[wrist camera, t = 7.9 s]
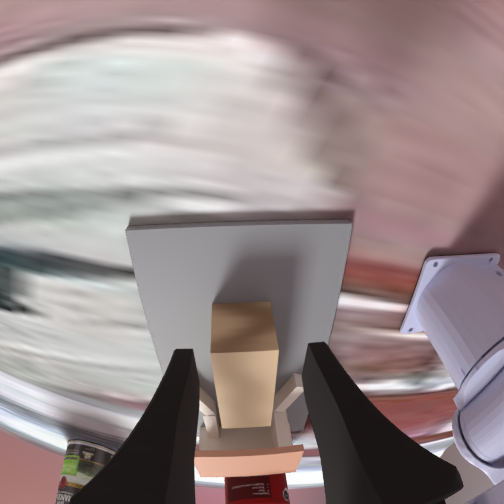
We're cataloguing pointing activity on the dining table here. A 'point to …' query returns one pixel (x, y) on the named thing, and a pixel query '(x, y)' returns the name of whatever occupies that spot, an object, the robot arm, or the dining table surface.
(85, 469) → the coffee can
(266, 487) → the canned food
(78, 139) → the dining table surface
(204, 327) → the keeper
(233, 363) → the tan cardboard block
